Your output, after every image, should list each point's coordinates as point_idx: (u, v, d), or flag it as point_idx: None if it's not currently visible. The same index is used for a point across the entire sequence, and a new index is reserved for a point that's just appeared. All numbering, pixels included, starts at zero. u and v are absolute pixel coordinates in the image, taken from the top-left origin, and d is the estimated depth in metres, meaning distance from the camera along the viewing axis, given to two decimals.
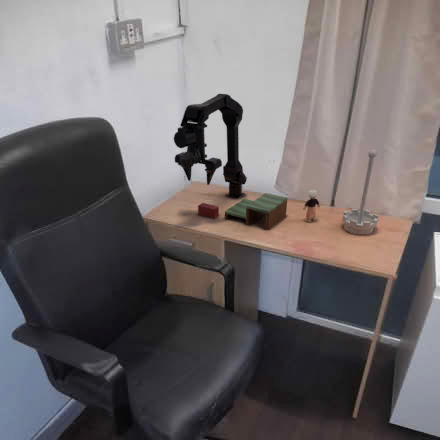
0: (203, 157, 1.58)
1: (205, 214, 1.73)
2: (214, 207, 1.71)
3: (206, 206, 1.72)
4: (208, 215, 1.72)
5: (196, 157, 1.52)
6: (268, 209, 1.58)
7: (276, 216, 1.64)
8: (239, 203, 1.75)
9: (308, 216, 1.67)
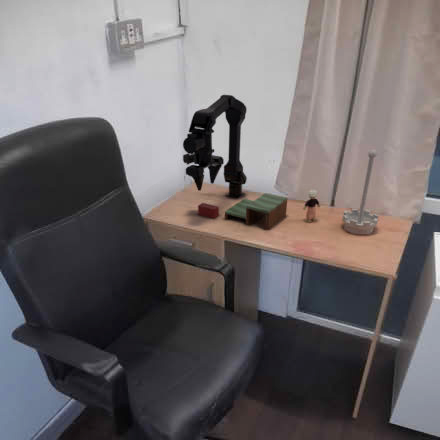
0: (200, 163, 1.60)
1: (205, 214, 1.73)
2: (214, 207, 1.71)
3: (206, 206, 1.72)
4: (208, 215, 1.72)
5: (184, 156, 1.60)
6: (268, 209, 1.58)
7: (276, 216, 1.64)
8: (239, 203, 1.75)
9: (308, 216, 1.67)
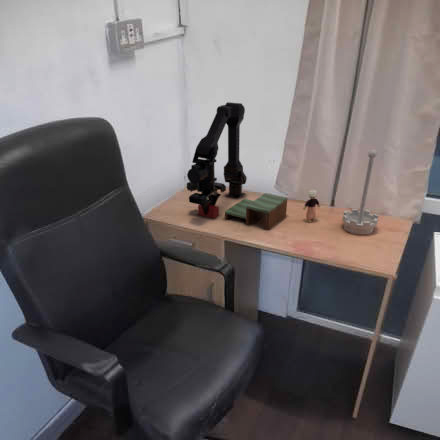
0: (203, 191, 1.66)
1: None
2: (214, 207, 1.71)
3: None
4: (208, 215, 1.72)
5: (188, 184, 1.67)
6: (268, 209, 1.58)
7: (276, 216, 1.64)
8: (239, 203, 1.75)
9: (308, 216, 1.67)
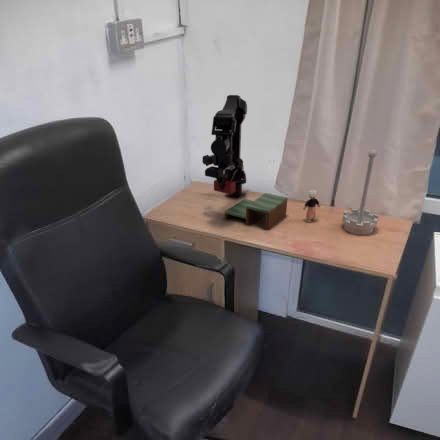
0: (220, 164, 1.59)
1: (221, 190, 1.65)
2: (231, 182, 1.63)
3: None
4: (224, 191, 1.65)
5: (204, 158, 1.60)
6: (268, 209, 1.58)
7: (276, 216, 1.64)
8: (239, 203, 1.75)
9: (308, 216, 1.67)
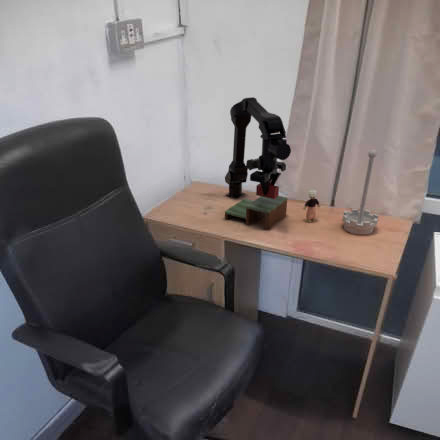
0: (265, 169, 1.56)
1: None
2: (274, 187, 1.60)
3: None
4: (267, 195, 1.61)
5: (248, 162, 1.56)
6: (268, 209, 1.58)
7: (276, 216, 1.64)
8: (239, 203, 1.75)
9: (308, 216, 1.67)
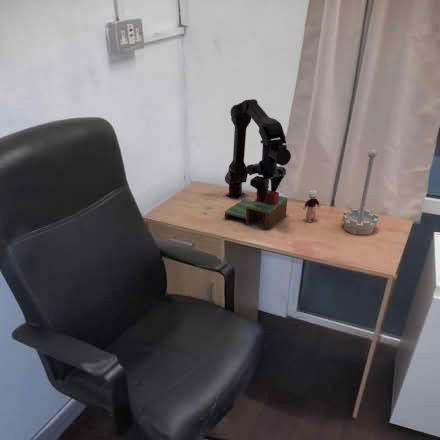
0: (265, 174, 1.57)
1: (264, 200, 1.63)
2: (274, 193, 1.61)
3: None
4: (267, 201, 1.63)
5: (248, 167, 1.57)
6: (268, 209, 1.58)
7: (276, 216, 1.64)
8: (239, 203, 1.75)
9: (308, 216, 1.67)
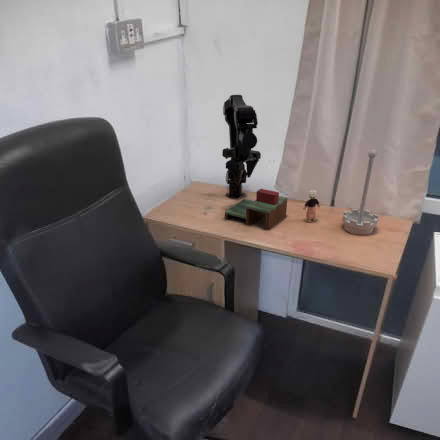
0: (240, 157, 1.64)
1: (264, 200, 1.63)
2: (274, 193, 1.61)
3: (265, 192, 1.62)
4: (267, 201, 1.63)
5: (224, 151, 1.64)
6: (268, 209, 1.58)
7: (276, 216, 1.64)
8: (239, 203, 1.75)
9: (308, 216, 1.67)
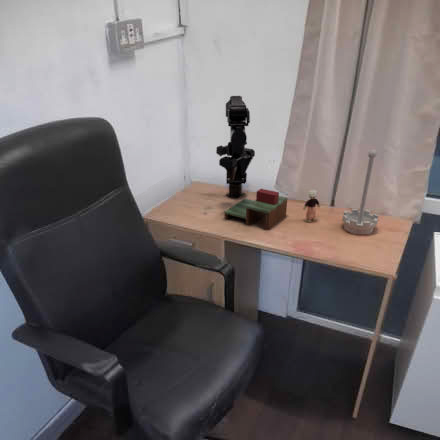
0: (233, 154, 1.66)
1: (264, 200, 1.63)
2: (274, 193, 1.61)
3: (265, 192, 1.62)
4: (267, 201, 1.63)
5: (218, 148, 1.67)
6: (268, 209, 1.58)
7: (276, 216, 1.64)
8: (239, 203, 1.75)
9: (308, 216, 1.67)
